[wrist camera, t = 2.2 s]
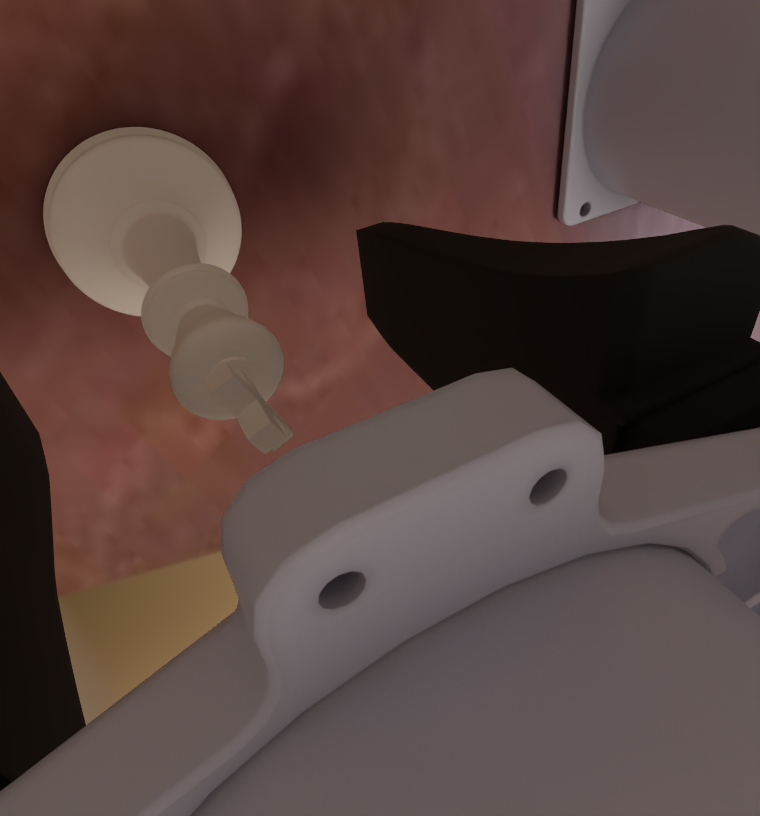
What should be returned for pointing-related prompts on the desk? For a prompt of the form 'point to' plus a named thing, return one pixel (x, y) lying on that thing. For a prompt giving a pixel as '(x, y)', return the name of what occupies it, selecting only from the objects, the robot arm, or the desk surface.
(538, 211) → the desk surface
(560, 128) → the desk surface
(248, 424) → the chess piece
